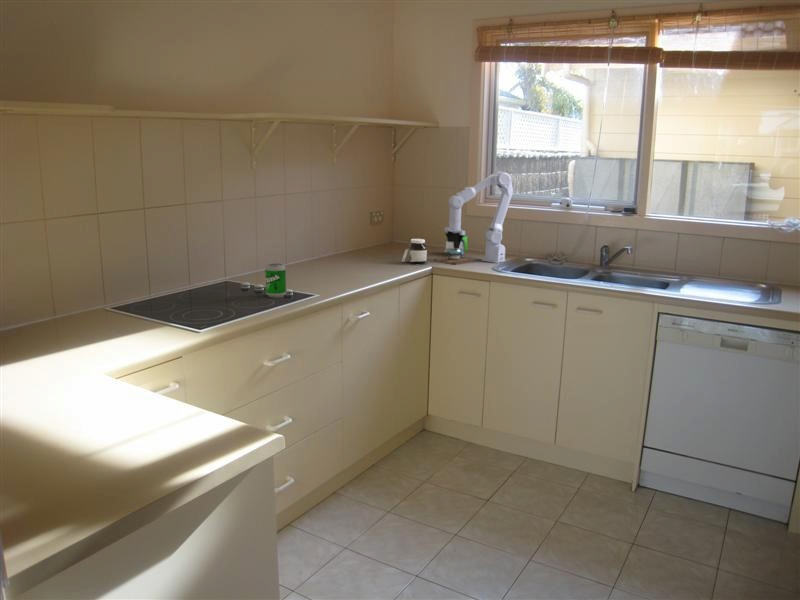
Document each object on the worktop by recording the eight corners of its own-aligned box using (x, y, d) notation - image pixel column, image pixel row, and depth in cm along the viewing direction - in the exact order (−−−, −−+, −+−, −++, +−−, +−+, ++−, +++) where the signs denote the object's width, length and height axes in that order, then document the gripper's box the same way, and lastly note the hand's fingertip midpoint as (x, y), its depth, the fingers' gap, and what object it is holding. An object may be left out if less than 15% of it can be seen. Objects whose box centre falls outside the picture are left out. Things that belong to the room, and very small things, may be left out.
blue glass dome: (460, 252, 348) (460, 240, 347) (463, 255, 340) (463, 243, 339) (443, 252, 347) (443, 240, 346) (446, 255, 339) (446, 243, 338)
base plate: (473, 261, 345) (473, 254, 344) (455, 264, 335) (456, 257, 334) (451, 257, 354) (451, 251, 353) (433, 261, 344) (434, 254, 343)
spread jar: (428, 264, 334) (429, 240, 332) (407, 265, 330) (407, 241, 328) (418, 260, 345) (419, 237, 342) (397, 261, 341) (398, 238, 338)
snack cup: (473, 256, 359) (474, 237, 357) (456, 258, 354) (456, 238, 352) (457, 252, 372) (457, 233, 370) (440, 253, 367) (440, 234, 365)
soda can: (277, 292, 269) (276, 262, 266) (290, 295, 264) (289, 264, 261) (261, 295, 263) (261, 264, 260) (274, 299, 258) (274, 267, 256)
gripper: (440, 219, 344) (439, 246, 347) (457, 222, 332) (456, 250, 335) (451, 218, 347) (450, 245, 351) (469, 221, 335) (467, 249, 339)
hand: (454, 247), depth 343 cm, fingers closed on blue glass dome, 4 cm apart
